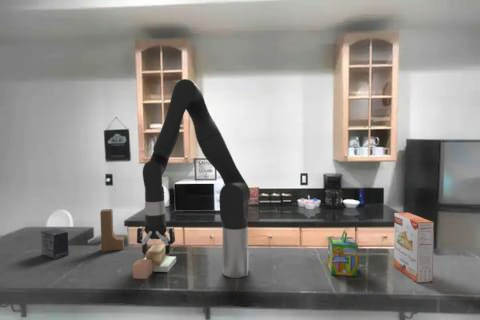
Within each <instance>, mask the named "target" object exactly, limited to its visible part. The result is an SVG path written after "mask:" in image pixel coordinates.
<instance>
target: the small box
mask: <svg viewBox="0 0 480 320" xmlns="http://www.w3.org/2000/svg"><path fill="white" fill-rule="evenodd" d="M40 233H41V256H43V257H46V258H49V259H51V260H58V259H60V258H64V257H68V256H69V255H70V254H69V231H66V230H63V229H61V228H60V229H59V228H52V229H47V230H41V232H40Z"/></svg>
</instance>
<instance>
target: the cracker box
mask: <svg viewBox="0 0 480 320" xmlns="http://www.w3.org/2000/svg"><path fill="white" fill-rule="evenodd" d="M393 223H394V228H393V229H394V233H393V234H394V236H393V238H394V240H393V248H394V249H393V267H394V268H396V269H397V270H399V271H400V272H401V271H402V272H401V273H403V274H404V275H405V276H407V277H408V276H409V279H411V278H412V279H413V280H412V279H411V280H412V281H413V282H415V281H416V282H428V283H431V282H430V281H433V279H434V276H433V275H434V238H435V237H434V228H435V225H434V221H431V220H429V219H425V218H424V217H421V216H418V215H416V214H413V213H411V212H394V222H393ZM416 282H415V283H416Z"/></svg>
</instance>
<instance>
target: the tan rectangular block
mask: <svg viewBox="0 0 480 320" xmlns="http://www.w3.org/2000/svg"><path fill="white" fill-rule="evenodd" d="M165 246H166V245H165V243H163V244H152V245H151V246H150V248H148V251H147V252H146V255H145V257H146V259H149V260H152V266H160V265H161V263H162V262H163V261H164V259H165V258H166V256H167V255H165Z"/></svg>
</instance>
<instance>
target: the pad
mask: <svg viewBox="0 0 480 320" xmlns="http://www.w3.org/2000/svg"><path fill="white" fill-rule="evenodd" d="M143 259H146V256H145V257H144V258H143ZM176 263H177V256H170V255H166V258H165V259H164V261H163V262H162V263H161V265H160V266H152V272H161V273H163V272H164V273H168V272H170V270H171V269H172V268H173V266H174V265H175V264H176Z"/></svg>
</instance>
